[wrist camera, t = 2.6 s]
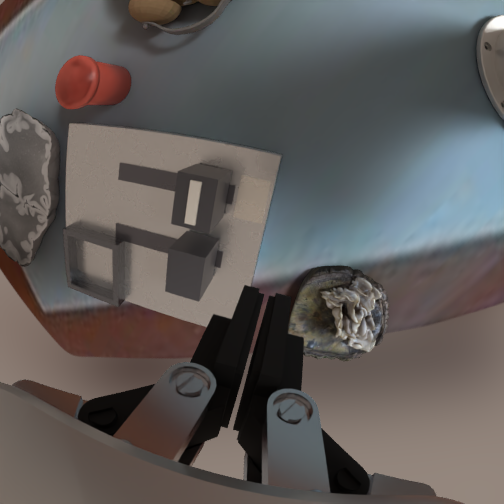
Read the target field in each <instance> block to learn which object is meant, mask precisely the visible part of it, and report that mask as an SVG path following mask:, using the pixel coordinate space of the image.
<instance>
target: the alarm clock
mask: <svg viewBox="0 0 504 504" xmlns="http://www.w3.org/2000/svg"><path fill="white" fill-rule="evenodd" d="M198 1H199V2H200V3H202V4H204V5H208V6H218V7H217V8H216V9H215V10H214V11H213V12H212V13H211V14H210V15H209V16H208V17H206V18H205V19H203V20H201V21H200V22H198V23H195V24H193V25H191V26H187V27H183V28H176V29H170V28H165V27H162V26H160V25H162V24H167V23H169V22H171V21H173V20H175V19H176V18H177V17H178V15H179V14H180V12H181V9H182V8H181V6H185V5H189V4H193V3H195V2H198ZM230 1H231V0H130V2H129V7H128V8H129V12H130V15H131V16H132V17H133V18H134V19H135V20H137V21H139V22H141V23H143V28H144V29H147V28H149V26H155V27H159V28H160V29H162V30H163V31H165V32H167V33H170V34H175V35H181V34H188V33H192V32H196V31H198V30H200V29H203V28H205V27H206V26H208V25H210V24H211V23H213V22H214V21H215V20H216V19H217V18H218V17H219V16H220V15H221V14H222V12H223V10H224V9H225V7H226V6H227V4H228V3H229V2H230Z"/></svg>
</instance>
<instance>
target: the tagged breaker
mask: <svg viewBox="0 0 504 504" xmlns="http://www.w3.org/2000/svg"><path fill="white" fill-rule="evenodd" d="M231 173H232V171H230V170H226V169H221V168H216V167H211V166H206V165H202V164H194V165H192V166H189V167H187V168H184V169H182V170H179V171H178V173H177V180H176V187H175V195H174V203H173V211H172V220H171V224H173V225H177V226H181V227H185V228H189V229H193V230H197V231H201V232H204V233H208V234H209V233H210V232H211V231H212V230H213V229H214V228H215V226H216V225H217V224H218V223H219V222H220V221H221V219H222V218H223V216H224V210H225V205H226V199H227V194H228V189H229V184H230V178H231Z"/></svg>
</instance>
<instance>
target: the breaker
mask: <svg viewBox="0 0 504 504" xmlns="http://www.w3.org/2000/svg"><path fill="white" fill-rule="evenodd" d="M218 244H219V239H217V238H213V237H209V236H205V235H201V234H198V233H194V232H190V231H186V232H185V233H184V234H183V235H182V236H181V237H180V238H179V239H178V240H177V241H176V242H174V243H173V244H172V245H171V246H170V247H169V249H168V260H167V272H166V286H165V292H168V293H171V294H175V295H178V296H181V297H185V298H188V299H191V300H195V301H198V302H199V301H200V299H201V298H202V296H203V294H204V293H205V291H206V289H207V287H208V286H209V284H210V282H211V281H212V279H213V273H214V267H215V261H216V255H217V250H218Z"/></svg>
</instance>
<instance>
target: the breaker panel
mask: <svg viewBox="0 0 504 504" xmlns="http://www.w3.org/2000/svg"><path fill="white" fill-rule="evenodd" d="M281 158H282V154H279V153H275V152H270V151H266V150H262V149H257V148H253V147H248V146H243V145H238V144H233V143H228V142H223V141H218V140H213V139H207V138H202V137H196V136H190V135H184V134H177V133H171V132H164V131H157V130H149V129H142V128H133V127H125V126H115V125H105V124H93V123H80V122H77V123H69V132H68V144H67V160H66V227H65V228H63V237H64V252H65V264H66V274H67V283H68V287H70V288H72V289H75V290H77V291H79V292H82V293H84V294H87V295H89V296H92V297H94V298H97V299H99V300H102V301H105V302H107V303H110V304H112V305H115V306H118V307H119V306H120V305H121V304H122V303H123V301H124V300H126V301H128V302H131V303H134V304H137V305H140V306H143V307H146V308H148V309H151V310H154V311H157V312H160V313H163V314H166V315H170V316H173V317H176V318H179V319H182V320H185V321H188V322H192V323H195V324H198V325H202V326H205V327H207V326H208V324H209V322H210V320H211V317H212V316H213V314H216V315H219V316H223V317H226V318H230V319H232V316H233V314H234V311H235V308H236V306H237V303H238V301H239V298H240V295H241V293H242V290H243V288H244V285H247V286H251V285H252V281H253V277H254V273H255V269H256V264H257V260H258V256H259V252H260V248H261V243H262V239H263V235H264V231H265V227H266V222H267V218H268V214H269V210H270V205H271V201H272V197H273V193H274V188H275V184H276V180H277V175H278V171H279V167H280V163H281ZM194 164H202V165H206V166H211V167H216V168H221V169H226V170H230V171H232V173H231V178H230V184H229V189H228V194H227V199H226V205H225V210H224V216H223V218H222V219H221V221H220V222H219V223H218V224H217V225H216V226H215V228H214V229H213V230H212V231H211V232H210V233H209V234H208V233H204V232H201V231H197V230H193V229H189V228H185V227H181V226H177V225H173V224H171V220H172V211H173V203H174V195H175V187H176V180H177V173H178V171H179V170H182V169H184V168H187V167H189V166H192V165H194ZM186 231H190V232H194V233H198V234H201V235H205V236H209V237H213V238H217V239H219V244H218V250H217V255H216V261H215V267H214V273H213V279H212V281H211V282H210V284H209V286H208V287H207V289H206V291H205V293H204V294H203V296H202V298H201V299H200V301H199V302H198V301H195V300H191V299H188V298H185V297H181V296H178V295H175V294H171V293H168V292H165V286H166V272H167V260H168V249H169V247H170V246H171V245H172V244H173V243H174V242H176V241H177V240H178V239H179V238H180V237H181V236H182V235H183V234H184V233H185V232H186Z"/></svg>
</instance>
